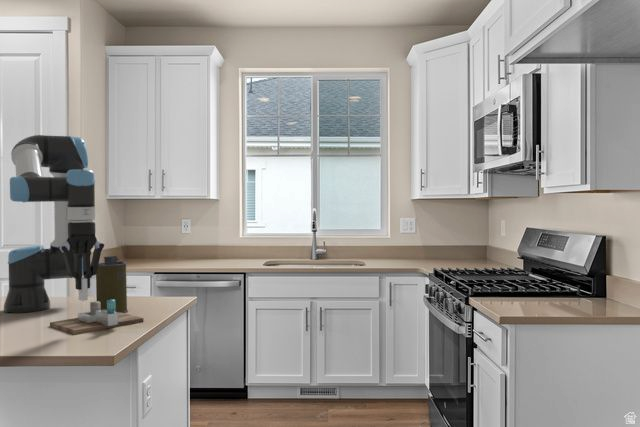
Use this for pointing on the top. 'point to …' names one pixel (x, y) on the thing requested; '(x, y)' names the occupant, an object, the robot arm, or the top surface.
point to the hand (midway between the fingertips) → (83, 299)
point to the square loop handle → (102, 315)
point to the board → (82, 327)
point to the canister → (112, 283)
